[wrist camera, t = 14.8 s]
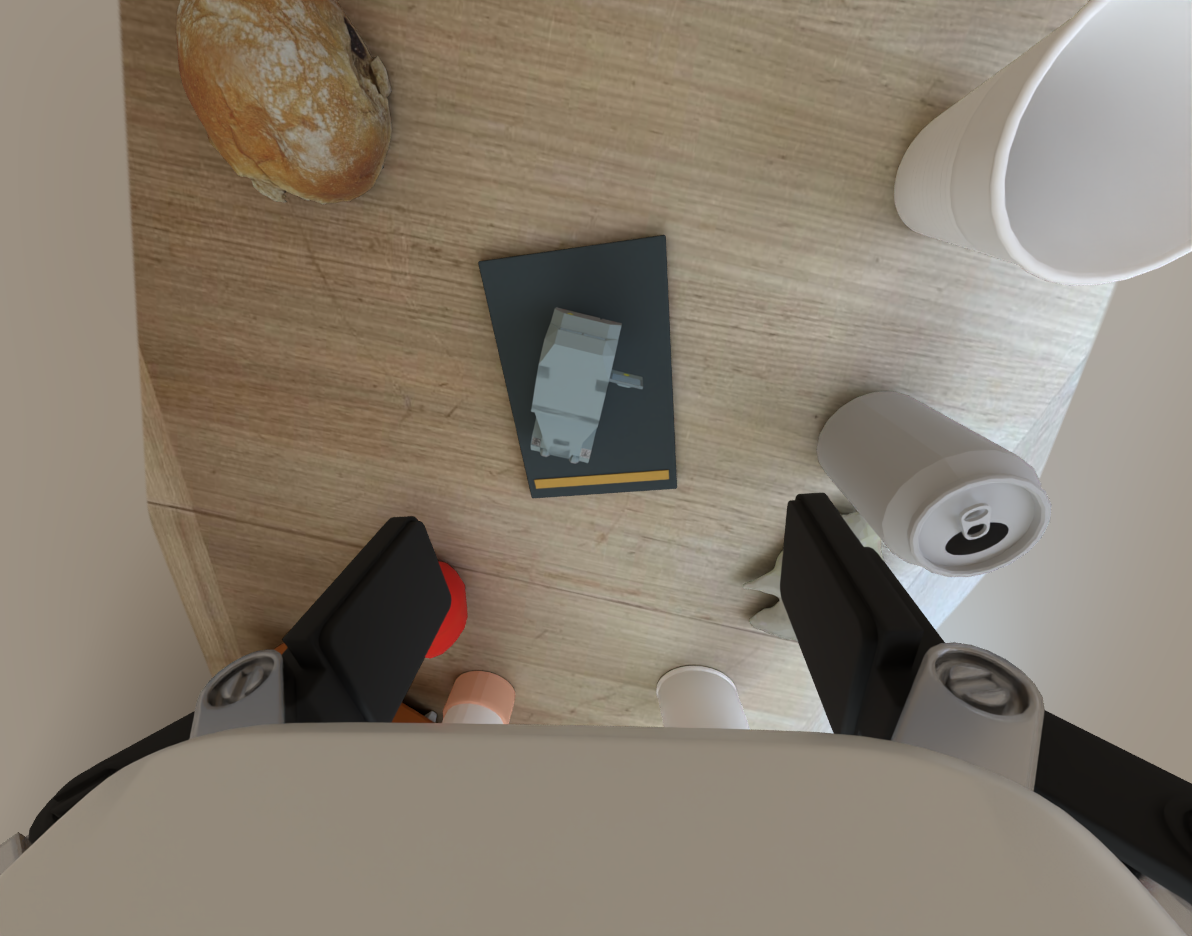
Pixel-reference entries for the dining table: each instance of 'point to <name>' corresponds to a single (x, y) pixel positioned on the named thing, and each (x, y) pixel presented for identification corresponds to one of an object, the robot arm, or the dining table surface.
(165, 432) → the dining table surface
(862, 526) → the crumpled beige cloth
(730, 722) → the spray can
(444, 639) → the tomato
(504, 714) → the pepper shaker
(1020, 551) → the can
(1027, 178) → the cup
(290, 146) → the bread roll
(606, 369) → the toy car
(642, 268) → the mat
